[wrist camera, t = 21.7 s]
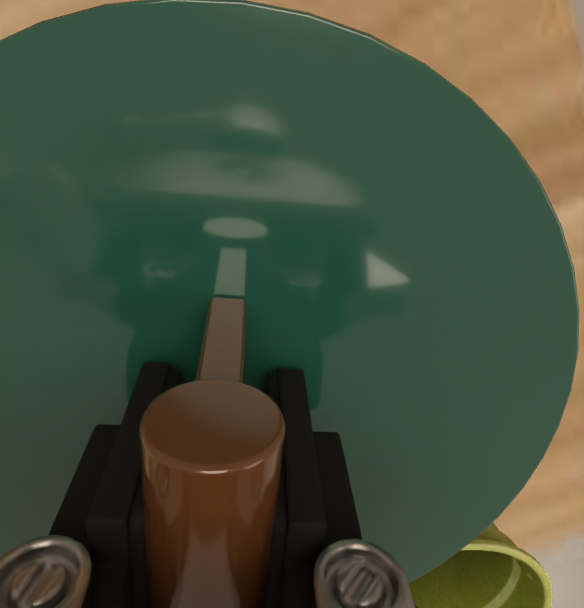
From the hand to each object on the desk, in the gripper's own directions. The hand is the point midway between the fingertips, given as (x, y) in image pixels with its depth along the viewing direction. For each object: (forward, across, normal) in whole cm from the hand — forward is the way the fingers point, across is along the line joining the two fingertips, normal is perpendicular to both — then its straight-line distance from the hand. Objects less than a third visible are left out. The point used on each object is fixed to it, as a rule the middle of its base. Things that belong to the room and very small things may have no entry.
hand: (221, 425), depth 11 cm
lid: (+1, 0, 0) cm, 1 cm away
